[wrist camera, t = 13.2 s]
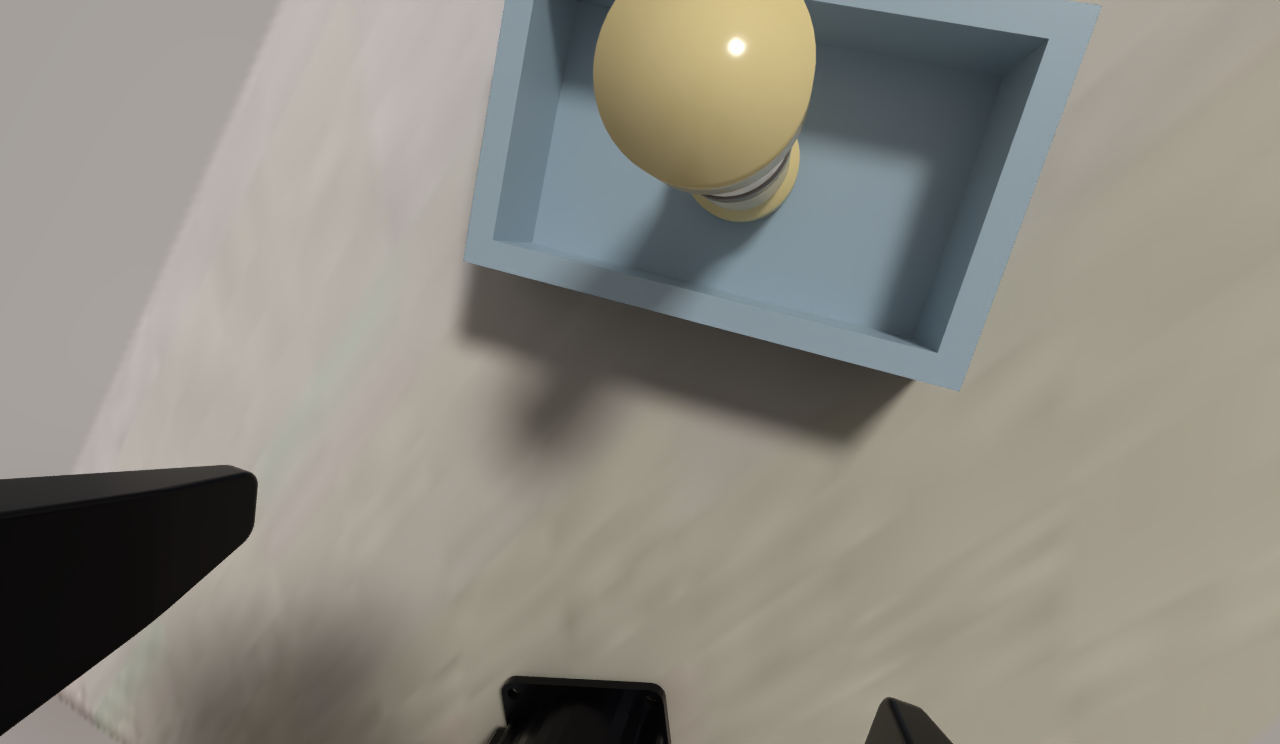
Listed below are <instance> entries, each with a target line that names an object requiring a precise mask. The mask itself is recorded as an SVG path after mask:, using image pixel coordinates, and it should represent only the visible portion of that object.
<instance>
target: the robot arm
mask: <svg viewBox="0 0 1280 744" xmlns="http://www.w3.org/2000/svg"><path fill="white" fill-rule="evenodd" d="M257 488H258V482H257V479H256V476H255V475H254V474H253V473H251V472H248V471H245V470H243V469H240V468H237V467H234V466H231V465H217V466H201V467H185V468H170V469H154V470H139V471H123V472H108V473H92V474H77V475H61V476H45V477H30V478H14V479H0V736H1V735H2V734H4V733H5V732H7V731H8V730H9V729H11V728H12V727H13V726H15V725H16V724H17V723H19V722H20V721H21V720H23V719H24V718H25V717H27V716H28V715H29V714H31V713H32V712H33V711H35V710H36V709H37V708H39V707H40V706H41V705H43V704H44V703H45V702H47V701H48V700H49V699H51V698H52V697H53V696H55V695H56V694H57V693H59V692H60V691H61V690H63V689H64V688H65V687H67V686H68V685H69V684H71V683H72V682H73V681H75V680H76V679H78V678H79V677H80V676H82V675H83V674H84V673H86V672H87V671H88V670H90V669H91V668H92V667H94V666H95V665H96V664H98V663H99V662H100V661H102V660H103V659H104V658H106V657H107V656H108V655H110V654H111V653H112V652H114V651H115V650H116V649H118V648H119V647H120V646H122V645H123V644H124V643H126V642H127V641H128V640H130V639H131V638H132V637H134V636H135V635H136V634H138V633H139V632H140V631H141V630H143V629H144V628H145V627H147V626H148V625H149V624H150V623H152V622H153V621H154V620H155V619H157V618H158V617H159V616H160V615H161V614H163V613H164V612H165V611H166V610H167V609H168V608H170V607H171V606H172V605H173V604H174V603H175V602H176V601H178V600H179V599H180V598H181V597H182V596H183V595H184V594H186V593H187V592H188V591H189V590H190V589H191V588H192V587H194V586H195V585H196V584H197V583H198V582H199V581H200V580H202V579H203V578H204V577H205V576H206V575H207V574H208V573H210V572H211V571H212V570H213V569H214V568H215V567H216V566H218V565H219V564H220V563H221V562H222V561H223V560H224V559H226V558H227V557H228V556H229V555H230V554H231V553H232V552H234V551H235V550H236V549H237V548H238V547H239V546H240V545H242V544H243V543H244V542H245V541H246V539H247V538H248V537H249V535H250V534H251V532H252V530H253V527H254V522H255V511H256V500H257ZM513 689H516V690H517V691H518V692H519V693H517V692H515V691H514V690H513ZM648 696H651V697H654V698H655V699H656V701H651V700H649V699H648V698H647V697H648ZM502 697H503V703H504V709H505V715H506V721H507V728H501V727H499V728H498V729H497V730H496V731H495V732H494V733H493V735H492V737H491V738H490V740H489V742H488V743H487V744H671V738H670V729H669V720H668V712H667V703H666V695H665V692H664V690H663V689H662V688H661V687H660V686H658V685H657V684H654V683H643V682H623V681H604V680H585V679H565V678H546V677H527V676H512V677H511V678H509V679H508V680H507V682H506V683H505V685H504V687H503V689H502ZM865 744H953V743H952V742H951V741H950V740H949V739H948V738H947V736H946V735H945V734H944V733H943V732H942V731H941V730H940V729H939V727H938V726H937V725H936V724H935V723H934V722H933V721H932V720H931V718H930V717H929V716H928V715H927V714H926V713H925V712H924V711H923V710H922V709H921V708H919V707H917V706H915V705H912V704H909V703H906V702H903V701H900V700H897V699H895V698H891V697H888V698H885V699H884V700H883V701H882V702H881V704H880V706H879V708H878V710H877V713H876V716H875V718H874V721H873V723H872V726H871V729H870V731H869V734H868V736H867V739H866V741H865Z"/></svg>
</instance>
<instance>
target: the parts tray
mask: <svg viewBox="0 0 1280 744" xmlns="http://www.w3.org/2000/svg"><path fill="white" fill-rule="evenodd" d="M614 2H615V0H505V4H504V10H503V16H502V22H501V29H500V35H499V41H498V47H497V53H496V60H495V66H494V72H493V78H492V85H491V91H490V97H489V103H488V110H487V116H486V122H485V128H484V135H483V141H482V147H481V153H480V159H479V166H478V172H477V178H476V184H475V191H474V197H473V203H472V209H471V216H470V222H469V228H468V234H467V240H466V247H465V253H464V259H463V261H464V262H468V263H472V264H476V265H480V266H483V267H487V268H491V269H495V270H499V271H503V272H506V273H510V274H514V275H518V276H522V277H525V278H529V279H533V280H537V281H541V282H544V283H548V284H552V285H556V286H560V287H563V288H567V289H571V290H575V291H579V292H583V293H586V294H590V295H594V296H598V297H602V298H605V299H609V300H613V301H617V302H621V303H624V304H628V305H632V306H636V307H640V308H643V309H647V310H651V311H655V312H659V313H662V314H666V315H670V316H674V317H678V318H682V319H685V320H689V321H693V322H697V323H701V324H704V325H708V326H712V327H716V328H720V329H723V330H727V331H731V332H735V333H739V334H742V335H746V336H750V337H754V338H758V339H761V340H765V341H769V342H773V343H777V344H781V345H784V346H788V347H792V348H796V349H800V350H803V351H807V352H811V353H815V354H819V355H822V356H826V357H830V358H834V359H838V360H841V361H845V362H849V363H853V364H857V365H861V366H864V367H868V368H872V369H876V370H880V371H883V372H887V373H891V374H895V375H899V376H902V377H906V378H910V379H914V380H918V381H921V382H925V383H929V384H933V385H937V386H940V387H944V388H948V389H952V390H956V391H960V389H961V386H962V383H963V381H964V378H965V375H966V372H967V370H968V367H969V364H970V362H971V359H972V356H973V354H974V351H975V348H976V345H977V343H978V340H979V337H980V335H981V332H982V329H983V326H984V324H985V321H986V318H987V316H988V313H989V310H990V307H991V305H992V302H993V299H994V297H995V294H996V291H997V289H998V286H999V283H1000V280H1001V278H1002V275H1003V272H1004V270H1005V267H1006V264H1007V261H1008V259H1009V256H1010V253H1011V251H1012V248H1013V245H1014V243H1015V240H1016V237H1017V234H1018V232H1019V229H1020V226H1021V224H1022V221H1023V218H1024V215H1025V213H1026V210H1027V207H1028V205H1029V202H1030V199H1031V196H1032V194H1033V191H1034V188H1035V186H1036V183H1037V180H1038V178H1039V175H1040V172H1041V169H1042V167H1043V164H1044V161H1045V159H1046V156H1047V153H1048V150H1049V148H1050V145H1051V142H1052V140H1053V137H1054V134H1055V131H1056V129H1057V126H1058V123H1059V121H1060V118H1061V115H1062V113H1063V110H1064V107H1065V104H1066V102H1067V99H1068V96H1069V94H1070V91H1071V88H1072V85H1073V83H1074V80H1075V77H1076V75H1077V72H1078V69H1079V67H1080V64H1081V61H1082V58H1083V56H1084V53H1085V50H1086V48H1087V45H1088V42H1089V39H1090V37H1091V34H1092V31H1093V29H1094V26H1095V23H1096V20H1097V18H1098V15H1099V12H1100V10H1101V7H1102V6H1100V5H1093V4H1087V3H1080V2H1073V1H1067V0H804V2H805V4H806V7H807V9H808V12H809V14H810V17H811V21H812V25H813V29H814V35H815V44H816V65H815V73H814V80H813V86H812V92H811V98H810V104H809V108H808V112H807V116H806V120H805V122H804V125H803V127H802V130H801V132H800V134H799V136H798V138H797V140H798V144H799V151H800V161H799V169H798V174H797V179H796V182H795V185H794V187H793V190H792V192H791V193H790V195H789V197H788V198H787V200H786V201H785V202H784V203H783V204H782V205H781V207H780V208H778V209H777V210H776V211H775V212H773V213H772V214H770V215H769V216H767V217H765V218H763V219H760V220H757V221H754V222H749V223H734V222H729V221H726V220H723V219H720V218H718V217H717V216H715V215H713V214H712V213H710V212H709V211H707V210H706V209H704V208H703V207H702V206H701V205H700V204H699V203H698V202H697V201H696V199H695V198H694V197H693V195H692V194H691V193H687V192H683V191H680V190H677V189H675V188H672V187H670V186H668V185H666V184H665V183H663V182H661V181H659V180H658V179H656V178H655V177H653V176H652V175H650V174H648V173H647V172H645V171H644V170H642V169H641V168H639V167H638V166H637V165H635V164H634V163H632V162H631V161H630V160H629V159H628V158H627V157H626V156H625V155H624V154H623V153H622V152H621V151H620V149H619V148H618V147H617V146H616V145H615V143H614V142H613V140H612V139H611V137H610V135H609V134H608V132H607V130H606V128H605V126H604V124H603V122H602V119H601V117H600V114H599V110H598V107H597V104H596V98H595V93H594V83H593V66H594V56H595V50H596V45H597V41H598V37H599V34H600V31H601V28H602V25H603V23H604V21H605V19H606V16H607V14H608V12H609V10H610V9H611V7H612V5H613V3H614Z"/></svg>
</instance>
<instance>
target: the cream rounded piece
mask: <svg viewBox="0 0 1280 744" xmlns="http://www.w3.org/2000/svg"><path fill="white" fill-rule="evenodd" d="M815 65H816V44H815V35H814V29H813V25H812V21H811V17H810V14H809V12H808V9H807V7H806V4H805V2H804V0H615V2H614V3H613V5H612V7H611V9H610V10H609V12H608V14H607V16H606V19H605V21H604V23H603V25H602V28H601V31H600V34H599V37H598V41H597V45H596V50H595V56H594V66H593V83H594V93H595V98H596V104H597V107H598V110H599V114H600V117H601V119H602V122H603V124H604V126H605V128H606V130H607V132H608V134H609V135H610V137H611V139H612V140H613V142H614V143H615V145H616V146H617V147H618V148H619V149H620V151H621V152H622V153H623V154H624V155H625V156H626V157H627V158H628V159H629V160H630V161H631V162H632V163H634V164H635V165H637V166H638V167H639V168H641V169H642V170H644V171H645V172H647V173H648V174H650V175H652V176H653V177H655V178H656V179H658V180H659V181H661V182H663V183H665V184H666V185H668V186H670V187H672V188H675V189H677V190H680V191H683V192H687V193H691V194H692V195H693V197H694V198H695V199H696V201H697V202H698V203H699V204H700V205H701V206H702V207H703V208H704V209H706V210H707V211H709V212H710V213H712V214H713V215H715V216H717V217H718V218H720V219H723V220H726V221H729V222H734V223H749V222H754V221H757V220H760V219H763V218H765V217H767V216H769V215H770V214H772V213H773V212H775V211H776V210H777V209H778V208H780V207H781V205H782V204H783V203H784V202H785V201H786V200H787V198H788V197H789V195H790V193H791V192H792V190H793V187H794V185H795V182H796V179H797V174H798V169H799V161H800V151H799V144H798V140H797V138H798V136H799V134H800V132H801V130H802V127H803V125H804V122H805V120H806V116H807V112H808V108H809V104H810V98H811V92H812V86H813V80H814V73H815Z"/></svg>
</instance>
